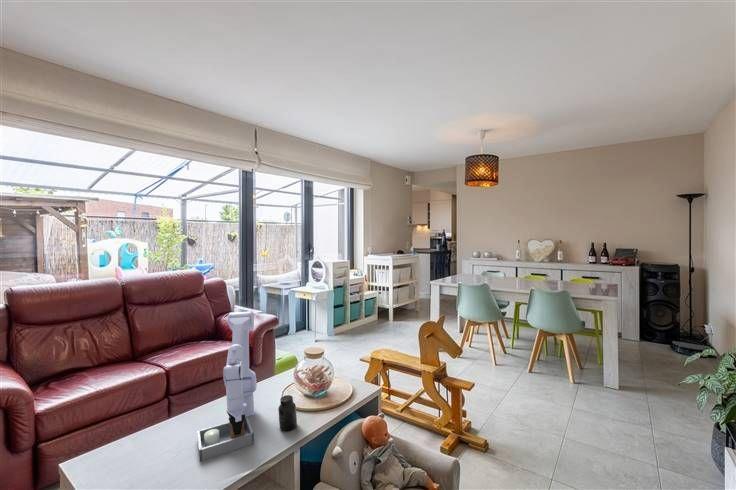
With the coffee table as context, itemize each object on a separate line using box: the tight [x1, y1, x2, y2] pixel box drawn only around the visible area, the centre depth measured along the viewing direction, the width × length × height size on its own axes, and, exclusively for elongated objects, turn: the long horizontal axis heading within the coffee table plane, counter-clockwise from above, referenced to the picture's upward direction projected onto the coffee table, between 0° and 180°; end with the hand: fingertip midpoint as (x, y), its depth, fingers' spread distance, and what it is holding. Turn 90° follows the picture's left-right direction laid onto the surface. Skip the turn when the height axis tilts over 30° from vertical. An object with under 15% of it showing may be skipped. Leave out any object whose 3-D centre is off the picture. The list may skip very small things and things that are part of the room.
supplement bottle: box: [277, 394, 298, 432], centre depth 136 cm, size 7×7×12 cm
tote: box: [196, 416, 255, 462], centre depth 127 cm, size 13×18×4 cm
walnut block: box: [228, 420, 244, 439], centre depth 128 cm, size 4×4×6 cm
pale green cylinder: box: [204, 429, 220, 447], centre depth 124 cm, size 5×5×5 cm
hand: (236, 430), depth 128 cm, fingers closed on walnut block, 4 cm apart
